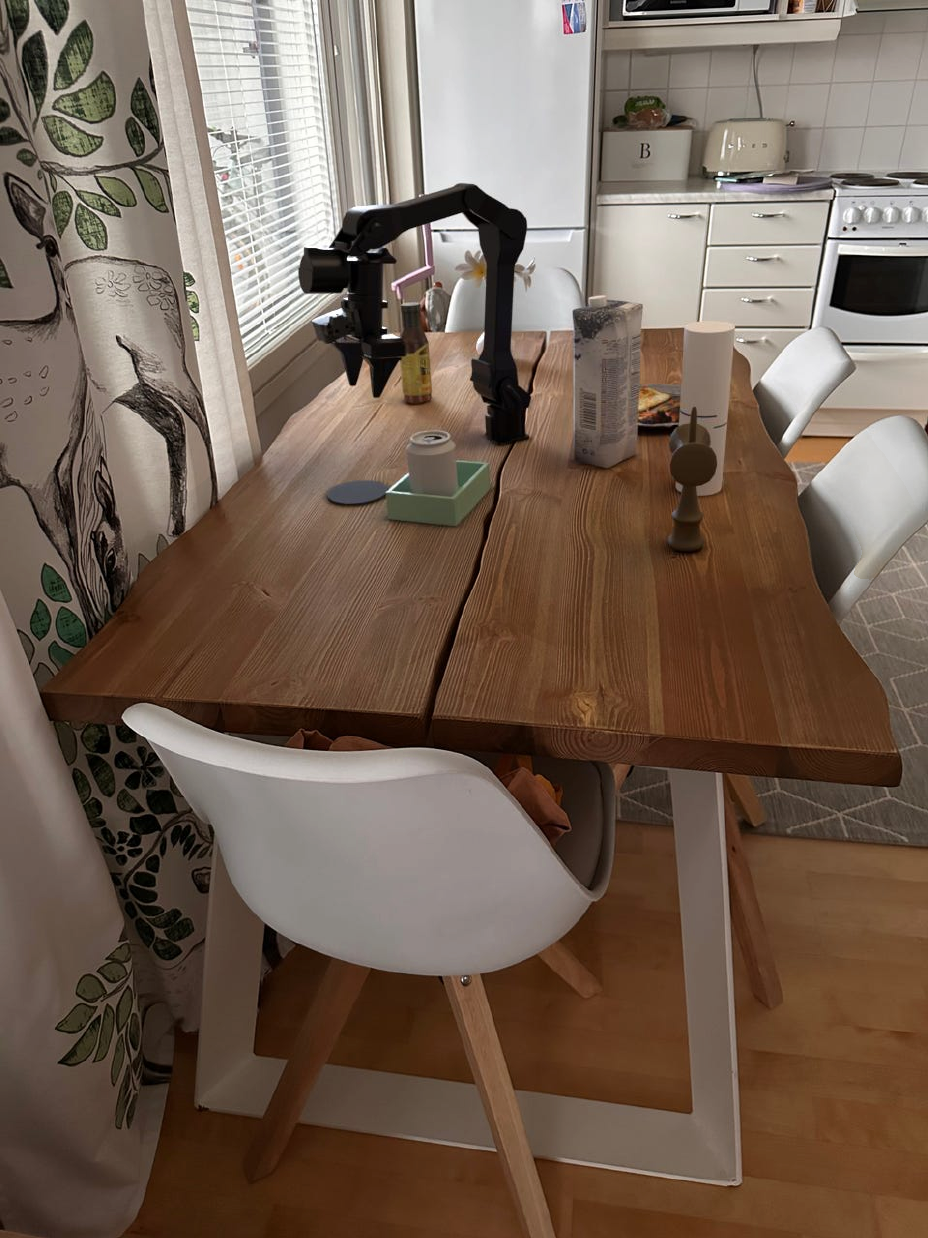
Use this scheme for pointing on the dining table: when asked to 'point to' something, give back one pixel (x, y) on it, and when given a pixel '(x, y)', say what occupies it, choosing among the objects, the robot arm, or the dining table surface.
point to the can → (432, 464)
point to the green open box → (440, 497)
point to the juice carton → (606, 380)
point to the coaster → (357, 493)
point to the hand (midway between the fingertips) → (364, 391)
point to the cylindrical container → (708, 387)
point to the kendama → (690, 480)
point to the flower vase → (477, 271)
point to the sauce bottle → (415, 357)
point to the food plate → (659, 405)
